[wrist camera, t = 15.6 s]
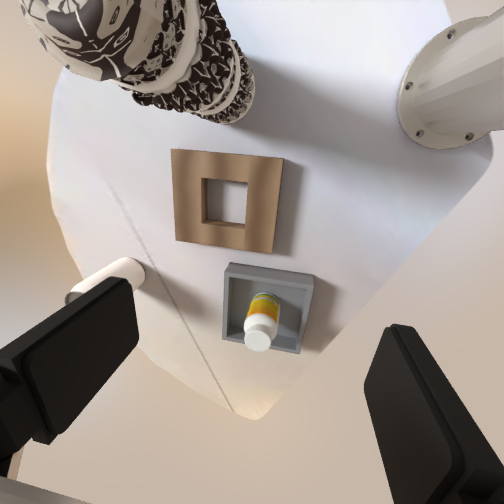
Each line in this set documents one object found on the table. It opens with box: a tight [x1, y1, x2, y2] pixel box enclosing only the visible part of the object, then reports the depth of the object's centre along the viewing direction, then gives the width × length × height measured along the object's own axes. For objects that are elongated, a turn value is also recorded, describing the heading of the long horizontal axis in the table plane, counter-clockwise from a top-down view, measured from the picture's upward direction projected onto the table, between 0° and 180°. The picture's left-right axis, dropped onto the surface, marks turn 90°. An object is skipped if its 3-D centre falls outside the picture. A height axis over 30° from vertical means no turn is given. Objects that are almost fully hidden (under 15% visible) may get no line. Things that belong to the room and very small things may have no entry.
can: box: [65, 257, 145, 305], centre depth 42 cm, size 6×6×12 cm
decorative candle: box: [19, 0, 255, 124], centre depth 21 cm, size 9×9×25 cm
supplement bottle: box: [244, 293, 280, 352], centre depth 40 cm, size 5×5×10 cm
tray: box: [222, 262, 314, 354], centre depth 43 cm, size 14×14×4 cm
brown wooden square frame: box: [171, 149, 284, 254], centre depth 37 cm, size 16×14×2 cm
